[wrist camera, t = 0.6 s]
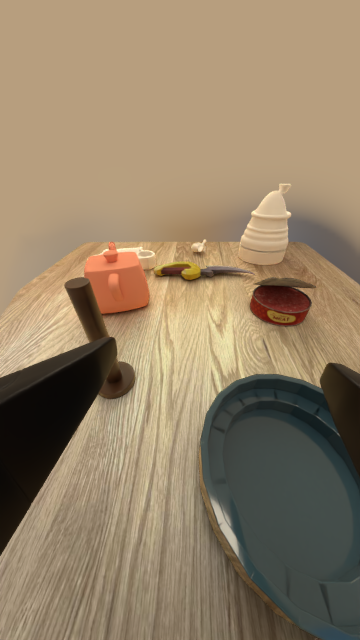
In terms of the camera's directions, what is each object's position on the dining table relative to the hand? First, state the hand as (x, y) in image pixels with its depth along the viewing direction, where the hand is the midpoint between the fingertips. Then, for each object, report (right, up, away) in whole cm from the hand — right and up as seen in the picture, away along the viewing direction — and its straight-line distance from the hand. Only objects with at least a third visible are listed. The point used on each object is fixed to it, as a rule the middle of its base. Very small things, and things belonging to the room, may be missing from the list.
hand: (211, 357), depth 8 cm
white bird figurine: (+5, +24, +54) cm, 59 cm away
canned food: (+17, +3, +29) cm, 34 cm away
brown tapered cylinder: (-10, -6, +17) cm, 21 cm away
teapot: (-14, +6, +33) cm, 36 cm away
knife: (+4, +13, +41) cm, 44 cm away
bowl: (+8, -12, +9) cm, 17 cm away
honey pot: (+23, +21, +50) cm, 59 cm away
